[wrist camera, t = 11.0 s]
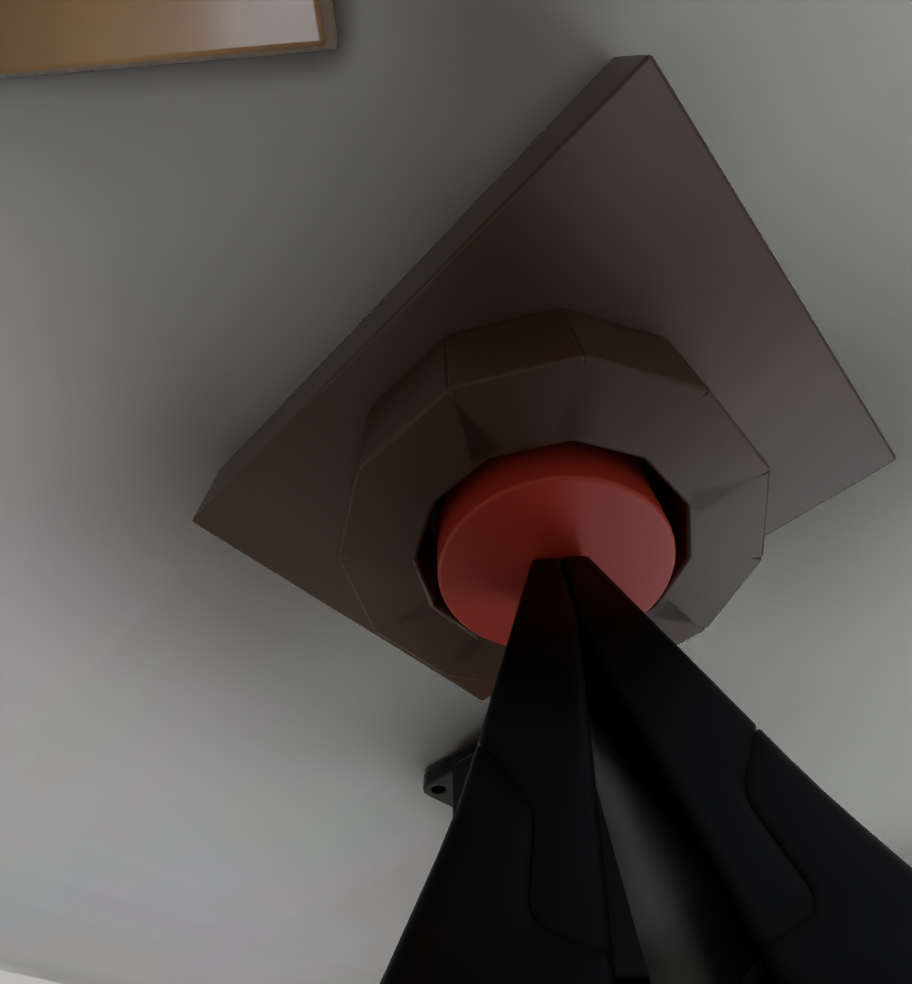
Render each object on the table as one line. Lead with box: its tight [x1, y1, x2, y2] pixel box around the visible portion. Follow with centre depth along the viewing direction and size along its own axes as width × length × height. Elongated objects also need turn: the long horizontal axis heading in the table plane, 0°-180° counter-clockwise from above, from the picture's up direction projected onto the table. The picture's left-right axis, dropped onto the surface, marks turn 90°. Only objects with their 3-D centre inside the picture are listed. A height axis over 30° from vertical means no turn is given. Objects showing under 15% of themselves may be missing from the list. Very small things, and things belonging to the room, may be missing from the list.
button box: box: [193, 55, 896, 700], centre depth 11 cm, size 8×10×4 cm
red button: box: [437, 441, 676, 646], centre depth 10 cm, size 4×4×2 cm
